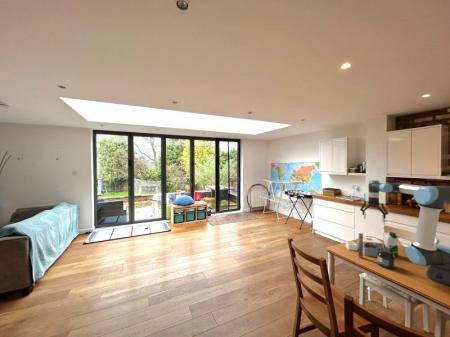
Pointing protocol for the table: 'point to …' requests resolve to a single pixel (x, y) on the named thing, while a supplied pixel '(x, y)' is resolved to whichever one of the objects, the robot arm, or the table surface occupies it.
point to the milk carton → (391, 242)
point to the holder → (351, 246)
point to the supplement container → (386, 258)
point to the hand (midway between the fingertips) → (373, 220)
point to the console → (370, 250)
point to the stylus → (360, 245)
